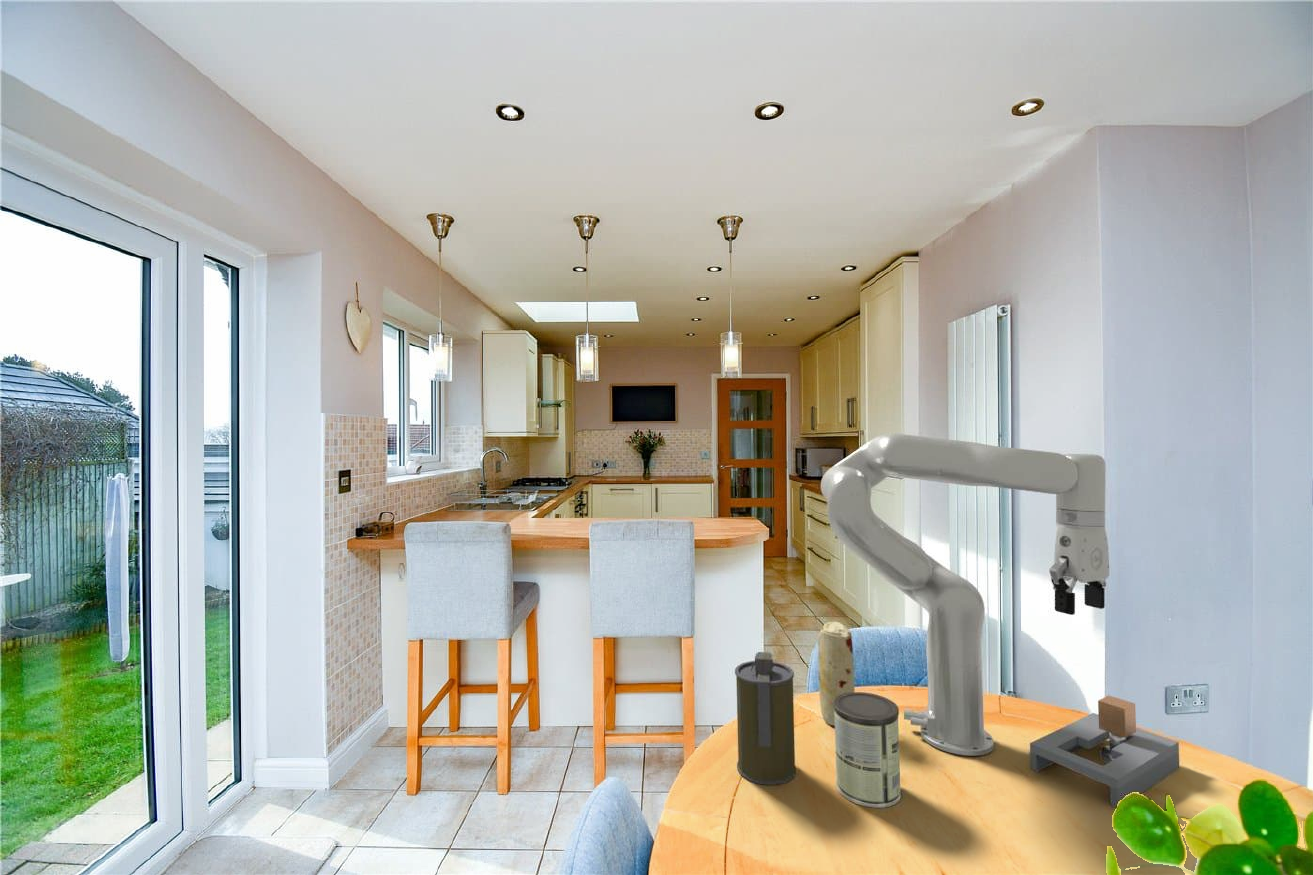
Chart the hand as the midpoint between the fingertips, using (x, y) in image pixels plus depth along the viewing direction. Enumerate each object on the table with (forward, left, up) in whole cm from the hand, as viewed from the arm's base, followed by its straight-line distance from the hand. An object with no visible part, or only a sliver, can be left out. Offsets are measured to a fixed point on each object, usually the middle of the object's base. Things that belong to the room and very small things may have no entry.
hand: (1079, 609), depth 109 cm
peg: (+4, -4, -25) cm, 26 cm away
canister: (-54, -29, -26) cm, 66 cm away
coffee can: (-37, -29, -26) cm, 53 cm away
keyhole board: (+1, -8, -25) cm, 27 cm away
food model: (-44, -6, -26) cm, 51 cm away
